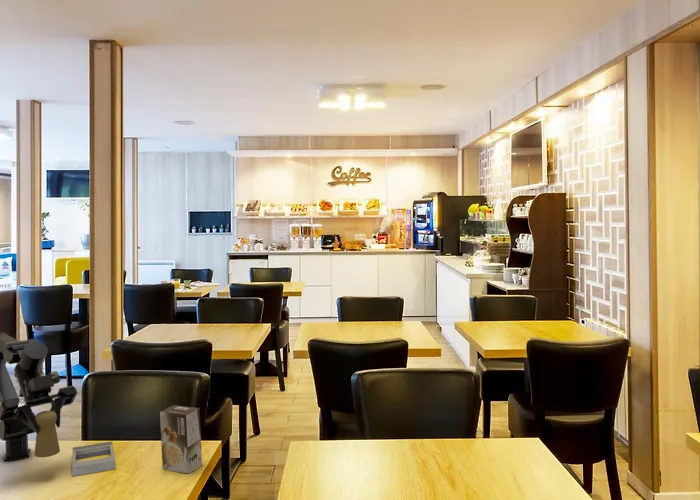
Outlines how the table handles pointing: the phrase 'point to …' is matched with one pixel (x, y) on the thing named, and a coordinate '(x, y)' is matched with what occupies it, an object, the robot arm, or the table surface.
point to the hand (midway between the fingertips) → (48, 429)
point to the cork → (46, 434)
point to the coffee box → (181, 438)
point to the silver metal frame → (95, 464)
